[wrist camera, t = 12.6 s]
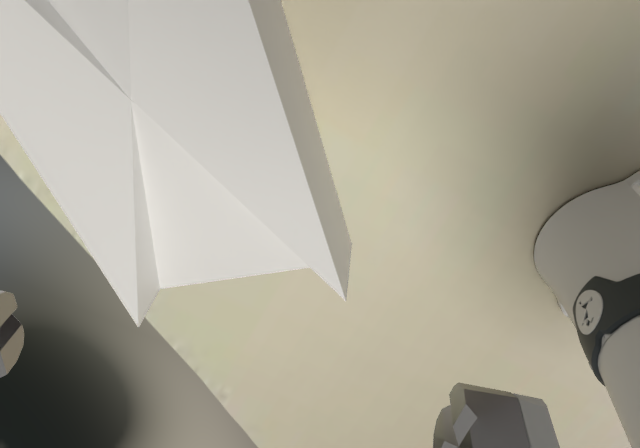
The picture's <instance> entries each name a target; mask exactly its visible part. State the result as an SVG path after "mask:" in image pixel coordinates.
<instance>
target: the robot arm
mask: <svg viewBox="0 0 640 448" xmlns="http://www.w3.org/2000/svg"><path fill="white" fill-rule="evenodd" d="M534 261H535V266H536V269H537V271H538V273H539V275H540V276H541V278H542V279H543V280H544V281H545V283H546V284H547V285H548V286H549V287H550V289H551V290H552V291H553V293H554V294H555V296H556V297H557V301H558V304H559V307H560V309H561V310H562V312H563V313H564V315H565V316H567V317H569V318H570V319H571V321H572V323H573V324H574V326H575V328H576V329H577V332H578V336H579V340H580V343H581V345H582V348H583V350H584V352H585V355H586V357H587V359H588V361H589V362H588V363H589V365H590V367H591V369H592V370H593V372H594V374H595V376H596V377H597V379H598V380H599V381H600V382H601V383H602V384H603V385H604V386H605V387H606V389H607V391H608V393H609V396H610V398H611V400H612V403H613V405H614V407H615V410H616V412H617V414H618V417H619V419H620V421H621V424H622V426H623V428H624V431H625V433H626V435H627V438H628V440H629V442H630V445H631V447H632V448H640V171H638V172H637V173H635V174H633V175H632V176H630V177H629V178H627V179H626V180H624V181H621V182H619V183H616V184H613V185H609V186H606V187H602V188H599V189H596V190H593V191H590V192H587V193H585V194H583V195H581V196H579V197H577V198H575V199H573V200H572V201H570V202H569V203H567V204H566V205H564V206H563V207H562V208H560V209H559V210H558V211H557V212H556V213H555V214H554V215H553V216H552V217H551V218H550V219H549V220H548V221H547V223H546V224H545V225H544V227H543V228H542V230H541V232H540V233H539V236H538V238H537V241H536V244H535V249H534ZM16 308H17V304H16V301H15V298H14V295H13V294H12V293H8V292H5V291H0V377H3V376H4V375H6V374H7V373H8V372H9V370H10V369H11V368H12V367H13V365H14V364H15V363H16V361H17V359H18V357H19V354H20V352H21V349H22V347H23V342H24V331H23V327H22V324H21V323H20V322H19V321H18V320H17V319H16V318H15V317H14V316H13V315H12V313H13V312H14V310H15V309H16ZM449 396H450V404H451V405H449V406H447V407H445V408H443V409H442V410H441V412H440V414H439V416H438V418H437V421H436V426H435V430H434V439H433V448H560V447H559V444H558V440H557V437H556V434H555V431H554V428H553V424H552V421H551V418H550V415H549V412H548V409H547V405H546V404H545V403H544V401H543V400H542V399H539V398H534V397H529V396H524V395H519V394H512V393H511V392H506V391H501V390H496V389H490V388H485V387H480V386H474V385H469V384H464V383H457V384H456V385H455V386H454V387H453V389H452V391H451V392H450V394H449Z"/></svg>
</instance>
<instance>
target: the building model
mask: <svg viewBox="0 0 640 448" xmlns="http://www.w3.org/2000/svg"><path fill="white" fill-rule="evenodd" d="M0 114H1V116H2V117H3V119H4V120H5V122H6V123H7V125H8V127H9V128H10V130H11V131H12V133H13V134H14V136H15V137H16V139H17V140H18V142H19V144H20V145H21V147H22V148H23V150H24V151H25V153H26V154H27V156H28V158H29V159H30V161H31V162H32V164H33V165H34V167H35V168H36V170H37V171H38V173H39V175H40V176H41V178H42V179H43V181H44V182H45V184H46V185H47V187H48V188H49V190H50V192H51V193H52V195H53V196H54V198H55V199H56V201H57V202H58V204H59V206H60V207H61V209H62V210H63V212H64V213H65V215H66V216H67V218H68V219H69V221H70V223H71V224H72V226H73V227H74V229H75V230H76V232H77V233H78V235H79V236H80V238H81V240H82V241H83V243H84V244H85V246H86V247H87V249H88V250H89V252H90V254H91V255H92V257H93V258H94V260H95V261H96V263H97V264H98V266H99V267H100V269H101V271H102V272H103V273H104V275H105V277H106V278H107V280H108V281H109V283H110V284H111V286H112V288H113V289H114V290H115V292H116V294H117V295H118V297H119V298H120V300H121V301H122V303H123V305H124V306H125V308H126V309H127V311H128V312H129V314H130V315H131V317H132V318H133V320H134V322H135V323H136V325H137V326H138V327H139V326H140V324H141V322H142V321H143V319H144V317H145V315H146V314H147V312H148V310H149V308H150V306H151V305H152V303H153V301H154V299H155V297H156V296H157V294H158V292H159V290H160V289H164V288H171V287H178V286H185V285H192V284H199V283H206V282H213V281H220V280H227V279H234V278H241V277H248V276H255V275H262V274H269V273H276V272H282V271H289V270H296V269H303V268H311V269H312V270H313V271H314V272H315V273H316V274H317V275H319V276H320V277H321V278H322V279H323V280H324V281H325V282H326V283H327V284H328V285H329V286H330V287H331V288H332V289H333V290H334V291H336V292H337V293H338V294H339V295H340V296H341V297H342V298H343V299H344V300H345V301H346V297H347V288H348V278H349V268H350V258H351V248H352V243H351V239H350V236H349V233H348V229H347V226H346V222H345V219H344V215H343V212H342V209H341V205H340V202H339V198H338V195H337V191H336V188H335V185H334V181H333V178H332V174H331V171H330V167H329V164H328V161H327V157H326V154H325V150H324V147H323V143H322V140H321V137H320V133H319V130H318V126H317V123H316V119H315V116H314V113H313V109H312V106H311V102H310V99H309V95H308V92H307V89H306V85H305V82H304V78H303V75H302V71H301V68H300V65H299V61H298V58H297V54H296V51H295V47H294V44H293V41H292V37H291V34H290V30H289V27H288V23H287V20H286V17H285V13H284V10H283V6H282V3H281V0H0Z"/></svg>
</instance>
